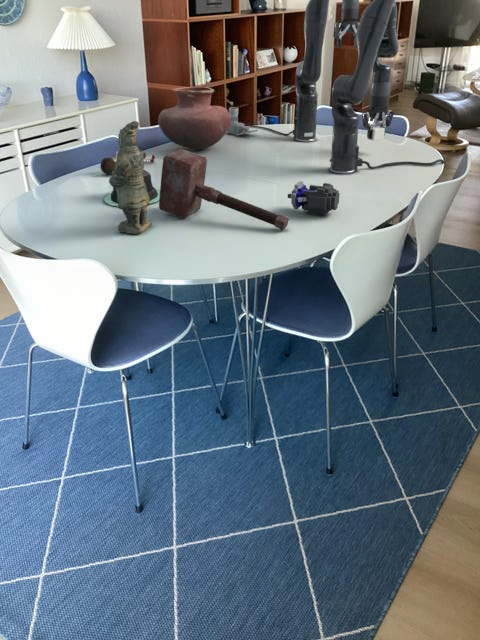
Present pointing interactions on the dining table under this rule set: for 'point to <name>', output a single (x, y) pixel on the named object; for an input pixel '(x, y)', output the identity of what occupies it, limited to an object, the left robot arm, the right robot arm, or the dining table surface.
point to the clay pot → (194, 119)
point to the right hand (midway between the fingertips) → (375, 138)
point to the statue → (131, 182)
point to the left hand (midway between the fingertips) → (347, 47)
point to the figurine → (109, 163)
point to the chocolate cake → (152, 192)
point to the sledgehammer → (200, 190)
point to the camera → (237, 124)
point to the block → (377, 133)
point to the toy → (315, 198)
